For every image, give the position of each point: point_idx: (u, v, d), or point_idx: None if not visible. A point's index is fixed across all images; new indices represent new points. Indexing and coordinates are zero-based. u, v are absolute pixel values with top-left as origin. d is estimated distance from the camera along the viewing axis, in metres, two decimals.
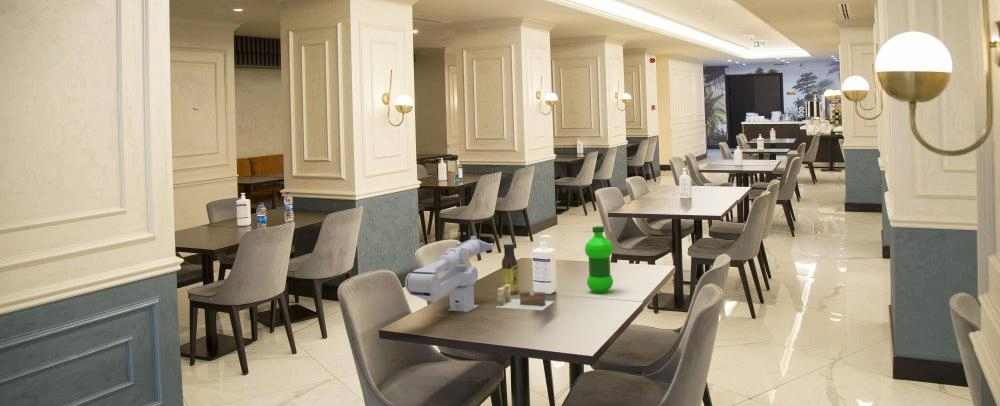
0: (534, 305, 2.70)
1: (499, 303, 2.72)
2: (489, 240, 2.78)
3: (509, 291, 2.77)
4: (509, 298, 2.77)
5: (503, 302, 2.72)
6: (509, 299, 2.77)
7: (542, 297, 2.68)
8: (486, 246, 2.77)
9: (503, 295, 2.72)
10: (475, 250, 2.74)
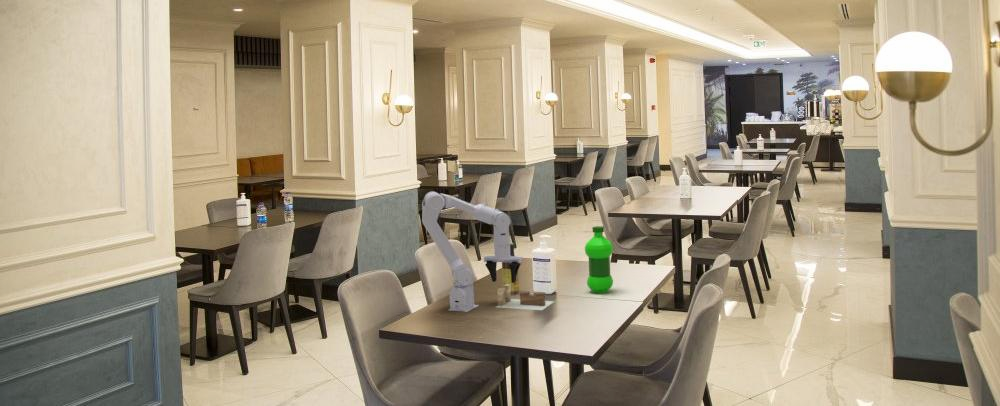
0: (534, 305, 2.70)
1: (499, 303, 2.72)
2: (519, 262, 2.73)
3: (509, 291, 2.77)
4: (509, 298, 2.77)
5: (503, 302, 2.72)
6: (509, 299, 2.77)
7: (542, 297, 2.68)
8: None
9: (503, 295, 2.72)
10: (508, 245, 2.72)
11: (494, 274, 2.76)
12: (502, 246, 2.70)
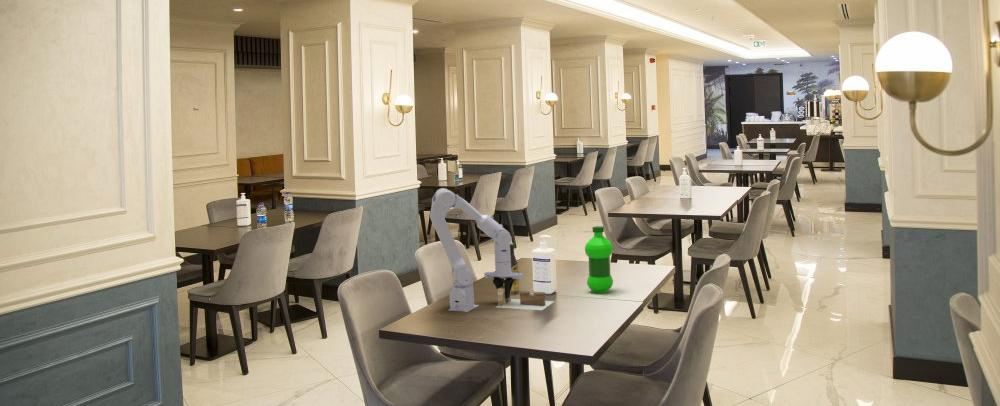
0: (534, 305, 2.70)
1: (499, 303, 2.72)
2: None
3: None
4: (509, 298, 2.77)
5: (503, 302, 2.72)
6: (509, 299, 2.77)
7: (542, 297, 2.68)
8: None
9: (503, 295, 2.72)
10: (509, 261, 2.72)
11: None
12: (503, 262, 2.71)
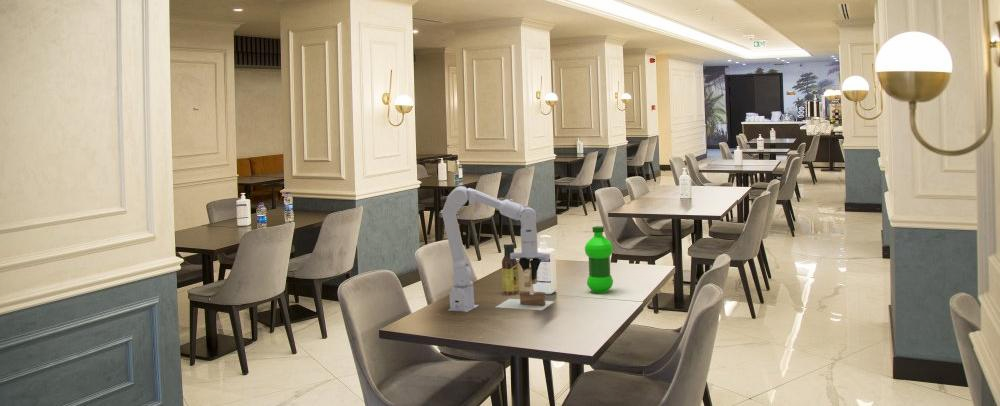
0: (534, 305, 2.70)
1: (525, 284, 2.67)
2: (539, 259, 2.70)
3: None
4: (535, 280, 2.72)
5: (530, 284, 2.67)
6: (535, 281, 2.72)
7: (542, 297, 2.68)
8: None
9: (530, 276, 2.67)
10: (536, 241, 2.67)
11: None
12: (529, 243, 2.66)
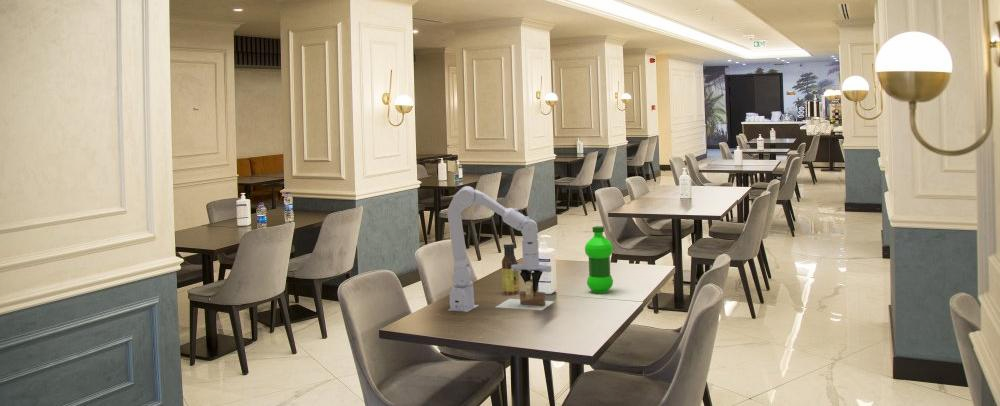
0: (534, 305, 2.70)
1: (527, 297, 2.67)
2: None
3: None
4: None
5: (531, 296, 2.67)
6: None
7: (542, 297, 2.68)
8: None
9: (531, 288, 2.67)
10: (537, 254, 2.67)
11: None
12: (531, 255, 2.66)
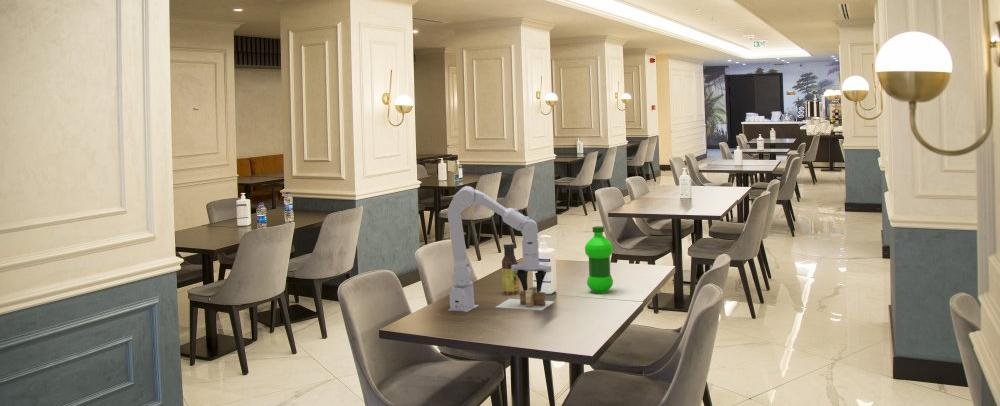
0: (534, 305, 2.70)
1: (527, 305, 2.67)
2: None
3: None
4: None
5: (531, 304, 2.68)
6: None
7: (542, 297, 2.68)
8: None
9: (531, 297, 2.68)
10: (537, 254, 2.67)
11: (526, 284, 2.71)
12: (531, 255, 2.66)
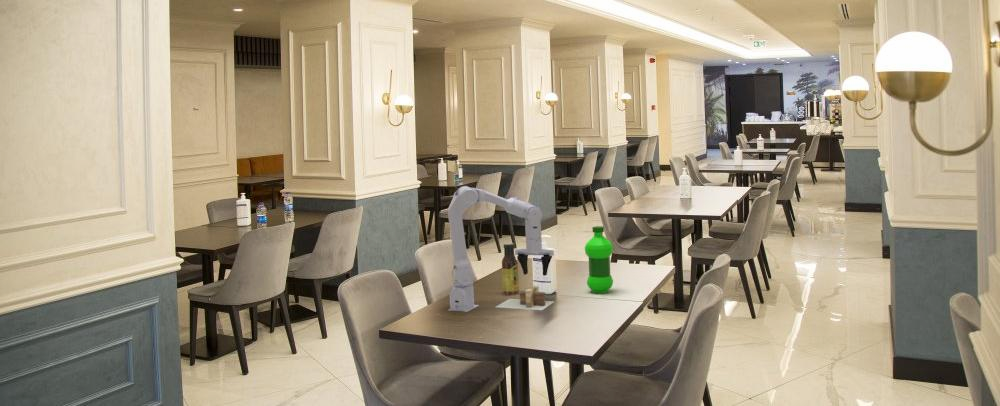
0: (534, 305, 2.70)
1: (527, 305, 2.67)
2: None
3: None
4: None
5: (531, 304, 2.68)
6: None
7: (542, 297, 2.68)
8: None
9: (531, 297, 2.68)
10: (540, 238, 2.74)
11: (526, 267, 2.79)
12: (534, 239, 2.73)
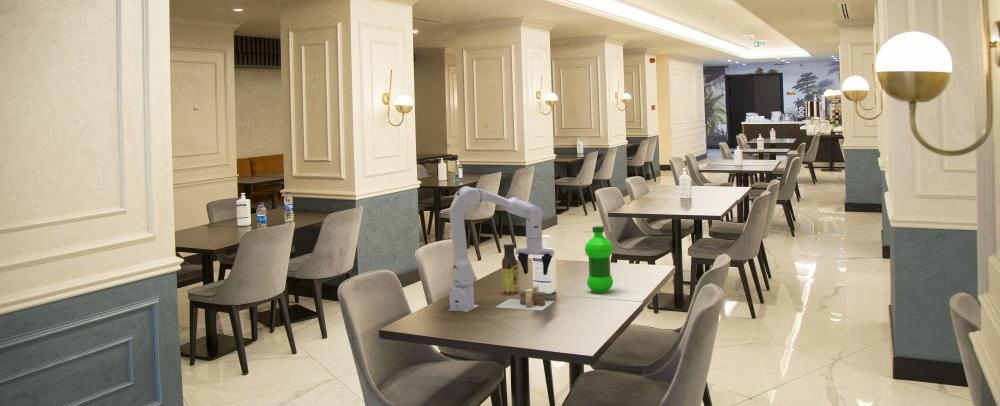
0: (534, 305, 2.70)
1: (527, 305, 2.67)
2: None
3: None
4: None
5: (531, 304, 2.68)
6: None
7: (542, 297, 2.68)
8: None
9: (531, 297, 2.68)
10: (541, 238, 2.76)
11: (526, 267, 2.80)
12: (534, 239, 2.75)
